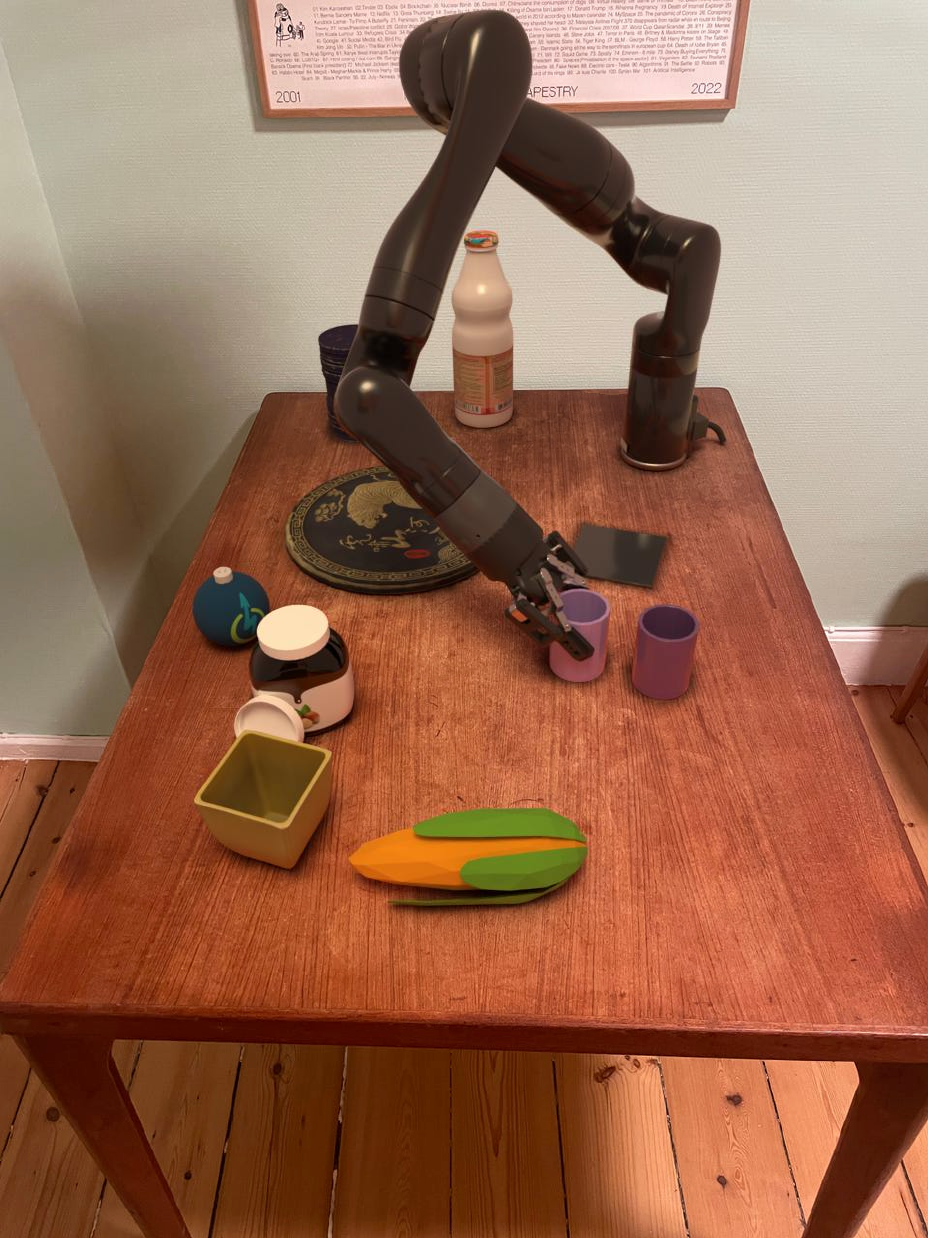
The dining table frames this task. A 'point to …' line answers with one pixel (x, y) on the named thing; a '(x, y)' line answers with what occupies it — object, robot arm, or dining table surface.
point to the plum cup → (664, 651)
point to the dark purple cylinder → (335, 367)
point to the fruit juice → (482, 336)
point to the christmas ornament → (230, 607)
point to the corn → (478, 854)
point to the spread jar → (297, 676)
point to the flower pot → (267, 797)
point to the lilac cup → (593, 624)
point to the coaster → (619, 555)
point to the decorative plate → (371, 537)
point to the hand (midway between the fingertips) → (594, 636)
